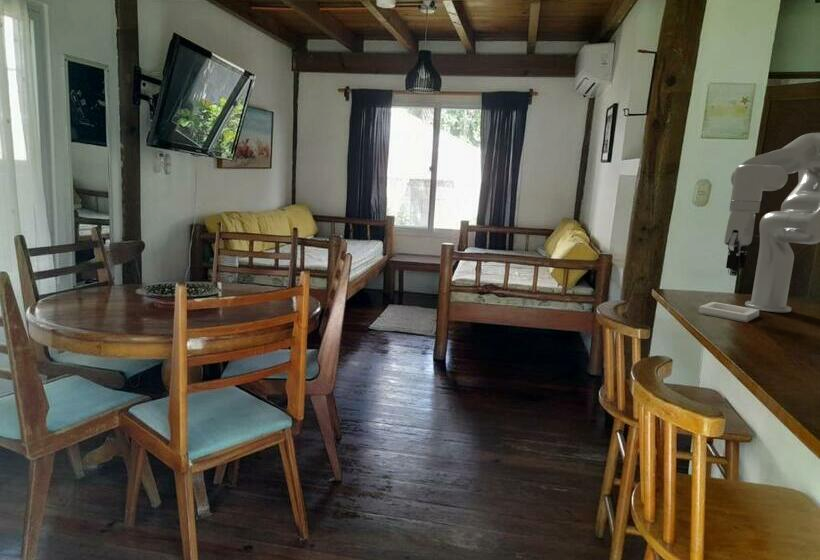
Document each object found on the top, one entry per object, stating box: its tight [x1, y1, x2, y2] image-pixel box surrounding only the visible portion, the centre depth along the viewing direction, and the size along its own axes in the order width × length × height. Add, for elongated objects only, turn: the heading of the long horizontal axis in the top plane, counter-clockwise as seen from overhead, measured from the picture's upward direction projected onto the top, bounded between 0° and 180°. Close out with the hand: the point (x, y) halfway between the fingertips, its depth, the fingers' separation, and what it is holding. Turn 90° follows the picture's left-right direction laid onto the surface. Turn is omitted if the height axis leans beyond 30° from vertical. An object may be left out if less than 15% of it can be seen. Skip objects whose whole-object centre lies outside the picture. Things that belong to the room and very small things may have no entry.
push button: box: [727, 243, 749, 277], centre depth 157 cm, size 7×5×10 cm
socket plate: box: [697, 301, 760, 323], centre depth 161 cm, size 12×13×2 cm
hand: (735, 267), depth 158 cm, fingers closed on push button, 5 cm apart
